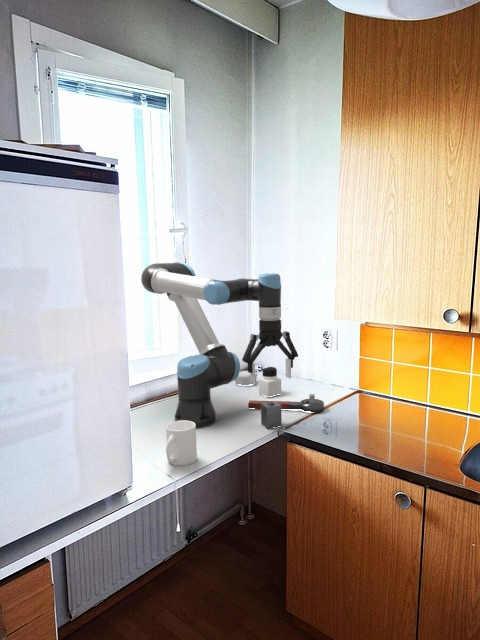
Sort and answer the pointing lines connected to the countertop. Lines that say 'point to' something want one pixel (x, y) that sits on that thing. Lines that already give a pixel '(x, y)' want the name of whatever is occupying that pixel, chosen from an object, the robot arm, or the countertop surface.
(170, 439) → the mug
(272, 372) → the medicine bottle
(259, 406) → the ratchet
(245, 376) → the ramekin
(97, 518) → the countertop surface
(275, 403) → the socket
